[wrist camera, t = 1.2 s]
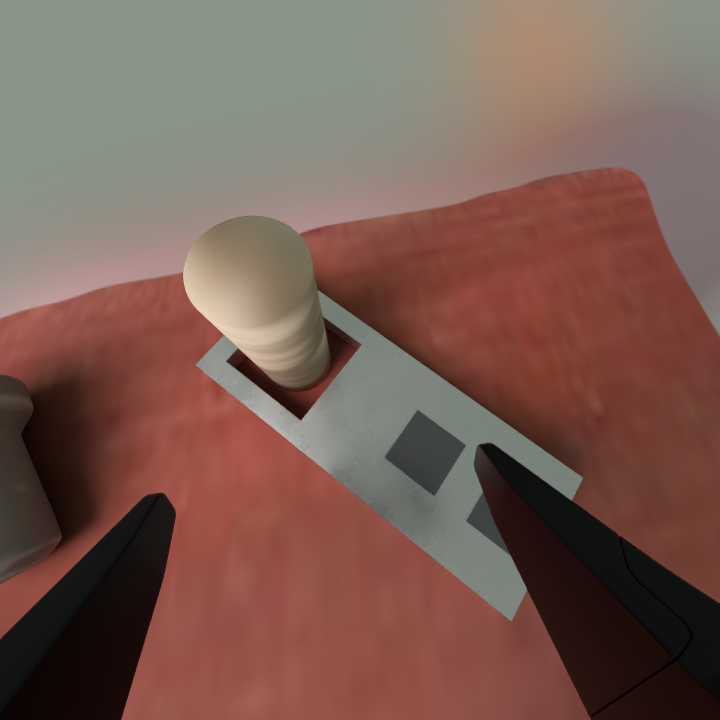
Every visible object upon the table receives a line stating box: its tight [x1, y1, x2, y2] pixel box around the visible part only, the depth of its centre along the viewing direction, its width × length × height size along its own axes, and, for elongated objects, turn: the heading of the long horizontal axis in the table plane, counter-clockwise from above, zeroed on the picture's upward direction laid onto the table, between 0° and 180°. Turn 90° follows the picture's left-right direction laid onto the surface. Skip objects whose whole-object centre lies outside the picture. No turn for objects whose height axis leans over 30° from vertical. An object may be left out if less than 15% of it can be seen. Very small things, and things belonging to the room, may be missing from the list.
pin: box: [183, 216, 331, 392], centre depth 19 cm, size 5×5×13 cm
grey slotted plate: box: [196, 290, 583, 621], centre depth 23 cm, size 10×26×2 cm, turn 53°
